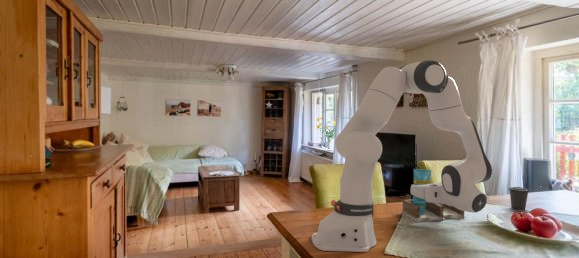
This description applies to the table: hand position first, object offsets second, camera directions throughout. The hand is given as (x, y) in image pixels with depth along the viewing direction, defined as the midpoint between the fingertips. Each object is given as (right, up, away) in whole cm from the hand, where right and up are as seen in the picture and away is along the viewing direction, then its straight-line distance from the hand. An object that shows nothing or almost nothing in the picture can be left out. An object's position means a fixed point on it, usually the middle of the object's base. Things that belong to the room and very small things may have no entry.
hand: (421, 185), depth 140 cm
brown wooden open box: (0, -14, 0) cm, 14 cm away
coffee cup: (+51, -13, +12) cm, 54 cm away
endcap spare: (+11, -13, +3) cm, 18 cm away
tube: (-2, -12, -1) cm, 12 cm away
